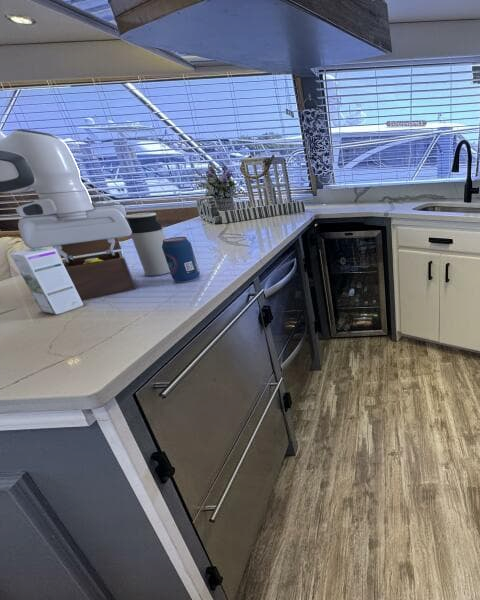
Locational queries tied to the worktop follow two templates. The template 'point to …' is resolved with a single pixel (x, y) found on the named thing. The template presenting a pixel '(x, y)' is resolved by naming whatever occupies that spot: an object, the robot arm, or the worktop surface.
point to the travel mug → (148, 242)
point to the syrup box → (47, 280)
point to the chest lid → (89, 247)
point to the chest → (100, 275)
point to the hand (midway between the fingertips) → (91, 258)
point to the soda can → (180, 259)
